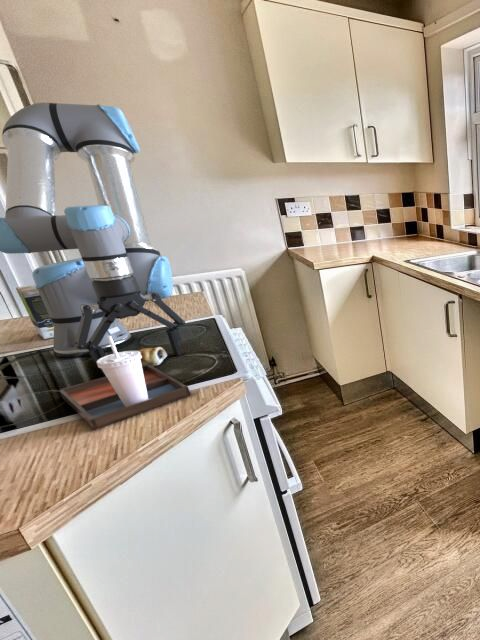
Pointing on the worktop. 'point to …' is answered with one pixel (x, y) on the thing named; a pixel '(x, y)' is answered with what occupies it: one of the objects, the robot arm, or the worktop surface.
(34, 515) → the worktop surface
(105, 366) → the smoothie
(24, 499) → the worktop surface
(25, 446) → the worktop surface
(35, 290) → the tea box
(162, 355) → the pastry
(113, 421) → the sorting tray
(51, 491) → the worktop surface
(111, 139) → the robot arm
